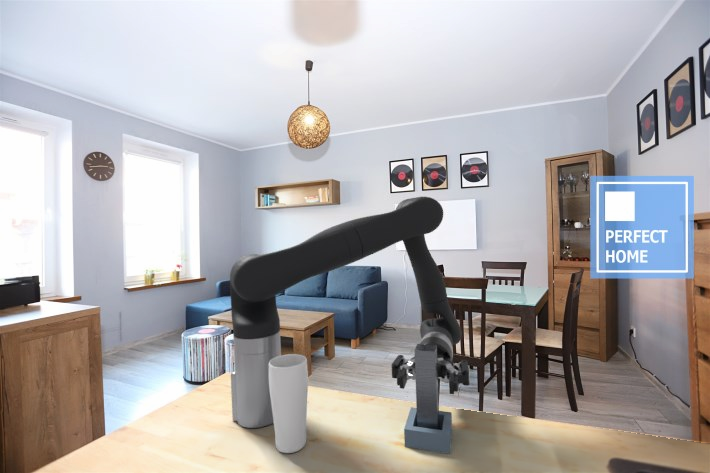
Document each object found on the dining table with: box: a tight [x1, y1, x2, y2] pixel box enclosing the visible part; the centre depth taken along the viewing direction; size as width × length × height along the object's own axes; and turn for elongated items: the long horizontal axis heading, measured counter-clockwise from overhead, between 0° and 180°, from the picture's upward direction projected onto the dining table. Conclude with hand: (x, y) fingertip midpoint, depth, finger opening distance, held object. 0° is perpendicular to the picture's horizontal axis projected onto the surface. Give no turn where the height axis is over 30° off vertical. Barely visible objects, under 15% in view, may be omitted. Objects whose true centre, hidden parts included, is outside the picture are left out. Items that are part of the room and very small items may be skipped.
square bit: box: [414, 343, 440, 430], centre depth 60 cm, size 4×4×16 cm
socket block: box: [403, 406, 453, 455], centre depth 60 cm, size 8×8×3 cm
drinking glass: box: [268, 353, 309, 454], centre depth 59 cm, size 7×7×15 cm
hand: (426, 385), depth 58 cm, fingers open, 8 cm apart
